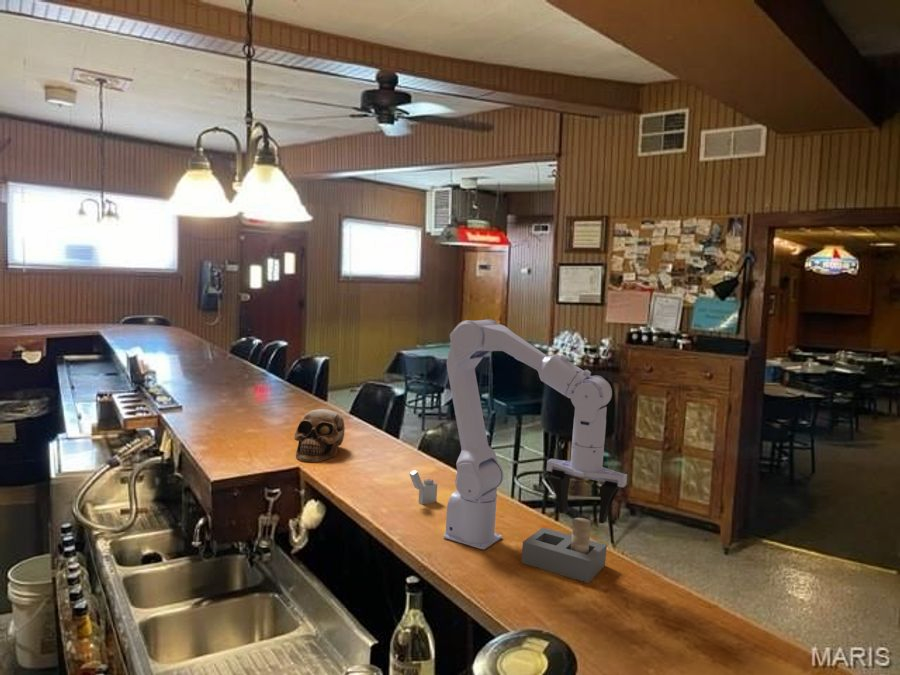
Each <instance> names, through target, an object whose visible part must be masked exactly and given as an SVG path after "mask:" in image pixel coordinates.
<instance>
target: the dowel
mask: <svg viewBox="0 0 900 675" xmlns="http://www.w3.org/2000/svg"><path fill="white" fill-rule="evenodd" d="M591 523H592V522H591V520H589V519H587V518H583V517H575V518H573V519H572V526H571V527H572V528H571V535H572V541H571V550H573V551H576V552H580V553H584V554H588V553H589V540H591V539H590V538H591V537H590V536H591Z"/></svg>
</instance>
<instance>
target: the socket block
mask: <svg viewBox="0 0 900 675" xmlns="http://www.w3.org/2000/svg"><path fill="white" fill-rule="evenodd" d="M571 541H572V534H568V533H564V532H561V531H557V530H554V529H550V528H546V527H541V528H539V529H538V530H537V531H536V532H535V533H532V535H530V536H529V537H528V538H526V539H525V540H524V541H522V549H521V550H522V551H521V562H520V563H521V564H524V565H528V566H531V567H534V568H537V567H538V568H537V569H541V570H544V571H546V572H550V573H553V574H557V575H560V576H563V577H567V578H570V579H574V580H576V579H577V581H581V582H583V581H584V582H583V583H587V584H589V583H590V582H591V581H592V580H593V579H594V578H595V577H596V576H597V574H599V572H600V571H602V570H603V569H604V567H605V566H606V560H607V559H606V558H607V547H608V546H607V544H605V543H603V542H602V543H601V542H598V541H594V540H591V539H590V540H589V553H588V554H584V553H580V552H576V551H573V550H571Z"/></svg>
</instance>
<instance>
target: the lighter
mask: <svg viewBox="0 0 900 675" xmlns="http://www.w3.org/2000/svg"><path fill="white" fill-rule="evenodd" d="M408 475H409V476H410V480H411V482H412V484H413V487H414V489H417V490H418V504H420V505H428V504H433V503H436V502H437V500H438V499H437V498H438V483H437V482H435V481H434V479H431V478H429V479H424V480H423V482H422V480H421V477H420V474H419V472H418V471H417V470H414V469H413V470H411V471H410V472H409V474H408Z"/></svg>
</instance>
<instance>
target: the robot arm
mask: <svg viewBox="0 0 900 675" xmlns="http://www.w3.org/2000/svg"><path fill="white" fill-rule="evenodd" d="M449 340H450V346H449V350H448V354H447V358H446V370H447V375H448V382H449V387H450V392H451V397H452V403H453V410H454V415H455V420H456V426H457V431H458V436H459V437H458V438H459V442H460V443H459V444H460V448H461V451H460V453H459V456H458V457H457V460H456V464H455V465H456V476H455V480H454V481H455V488H456V490H455V491H453V492H452V493H451V495H450V496H449V498H448V501H447V506H446V519H445V520H446V522H445V533H444V534H443V536H442V537H443V538H444V539H447V540H450V541H453V542H456V543H459V544H463V545H466V546H470V547H472V548H473V547H474V548H475V549H480V550H486V549H487V548H489V547H490V546H491V545H493V544H494V543H496V542H498V541H499V540H500V539H502V538H503V535H502V534H500V533H496V532H495V531H496V530H495V529H496V515H497V514H496V511H497V497H498V493H497V491H498V488H499V487H500V486H501V485H502V483H503V482H504V477H505V476H504V470H503V468H502V466H501V464H500V463H499V461H498V458H497V454H496V451H494V450H493V449H492V448H491V446H490V444H489V442H488V436H487V431H486V430H487V429H486V426H485V420H484V414H483V409H482V403H481V396H480V392H479V385H478V381H477V375H476V367H477V366H478V364H480V362H481V361H482V359H484V357H485V356H487V355H488V354H490V353H491V352H504V353H506V354H507V355H509V356H511V357H513V358H514V359H517V360H518V361H520V362H521V363H524V364H525V365H527V366H528V367H530V368H532V369H534V370H536V371H537V372H538V376H539V379H540V381H541V382H542V383H544V384H545V385H547V386H549V387H550V388H552V389H554V390H555V391H556V392H558V393H560V394H561V395H563V396H564V397H566V398H568V399H570V402H571V404H572V405H573V407H574V416H573V423H572V424H573V426H572V427H573V428H572V439H571V453H570V454H571V455H570V460H563V459H562V460H561V459H555V458H549V459H548V460H547V461H546V471H547V472H551V474H550V475H549V481H550V483H551V485H552V488H553V490H554V493H555V496H556V500H557V505H558V512H559V514H564V513H565V512H566V511H568V510H567V509H568V501H569V500H568V499H569V488H570V482H571V477H572V476H573V477H579V478H583V479H588V480H593V481H597V482H601V483H604V484H602V485H600V486H599V492H600V493H599V494H600V498H599V499H600V507H599V508H600V509H599V513H598V514H599V516H598V522H599V524H604V523H606V521H607V519H608V515H609V512H610V510H611V506H612V505H613V502H614V499H615V497H616V496H617V494H618V493H619V491H620V489H621V488H625V487H626V486H627V481H628V474H627V473H623V472H618V471H616V470H612V469H609V468H606V467H604V466H603V465H604V451H605V440H606V427H607V412H608V411H607V408H608V407H607V405H608V404H609V402H610V401H611V400H612V396H613V388H612V387H611V384H610V383H609V381H607V380H606V379H605V378H604V377H603V376H601V375H591V374H592V372H591V371H590V370H589V369H584V370H583V369H582V368H580V367H579V366H577V365H575V364H574V363H572V362H571V361H569V360H570V357H569V356H567V355H565V354H561V355H559V354H552V355H549V356H548V355H547V354H545V353H544V352H542V351H541V350H539V349H538V348H537V347H535V346H534V345H532V344H531V343H529V342H528V341H526V340H525V339H523V338H522V337H521V336H519V335H517V334H516V333H514V332H513V331H512V330H510V328H508V327H507V326H506V325H503V324H500V323H498V322H497V321H495V320H493V319H491V318H485V319H482V320H480V319H479V320H469V319H468V320H467V319H466V320H462V321H461V322H459V323H458V324H457V325H456V326H455V327H454V329H453V330H452V331H451V332H450V333H449Z"/></svg>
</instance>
